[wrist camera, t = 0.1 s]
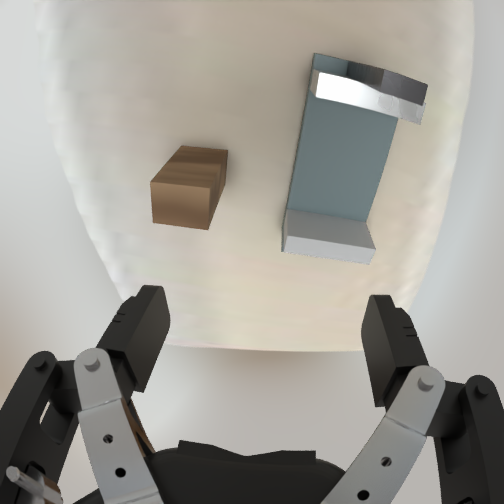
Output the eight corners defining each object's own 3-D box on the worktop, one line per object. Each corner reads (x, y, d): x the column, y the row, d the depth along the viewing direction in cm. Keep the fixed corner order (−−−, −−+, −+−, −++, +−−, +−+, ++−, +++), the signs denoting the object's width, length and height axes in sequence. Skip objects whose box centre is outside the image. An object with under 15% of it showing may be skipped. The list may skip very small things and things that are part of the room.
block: (181, 145, 31) (150, 182, 23) (227, 150, 31) (209, 188, 23) (181, 179, 33) (153, 222, 26) (225, 184, 33) (208, 230, 26)
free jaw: (315, 53, 22) (335, 56, 14) (408, 79, 22) (464, 100, 14) (309, 89, 24) (325, 111, 16) (400, 111, 24) (450, 147, 16)
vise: (314, 53, 23) (323, 54, 18) (402, 77, 23) (430, 86, 18) (281, 227, 36) (281, 263, 31) (354, 239, 36) (364, 275, 31)
